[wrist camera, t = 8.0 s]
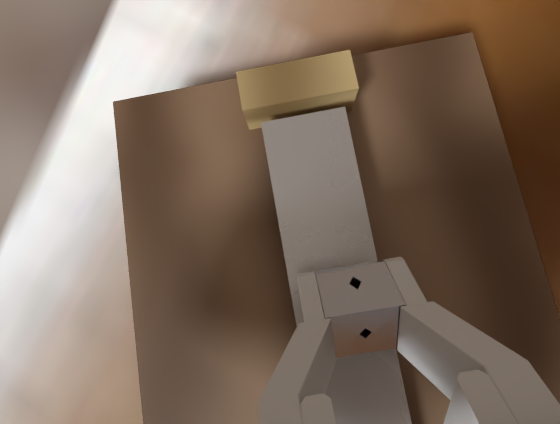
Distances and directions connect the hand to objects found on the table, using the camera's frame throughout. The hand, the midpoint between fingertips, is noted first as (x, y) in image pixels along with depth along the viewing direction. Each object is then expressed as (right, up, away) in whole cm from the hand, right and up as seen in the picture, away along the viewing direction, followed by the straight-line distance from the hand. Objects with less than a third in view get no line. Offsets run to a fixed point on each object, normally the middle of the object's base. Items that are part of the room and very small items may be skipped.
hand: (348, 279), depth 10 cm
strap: (0, -2, +3) cm, 3 cm away
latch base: (0, -2, +7) cm, 7 cm away
